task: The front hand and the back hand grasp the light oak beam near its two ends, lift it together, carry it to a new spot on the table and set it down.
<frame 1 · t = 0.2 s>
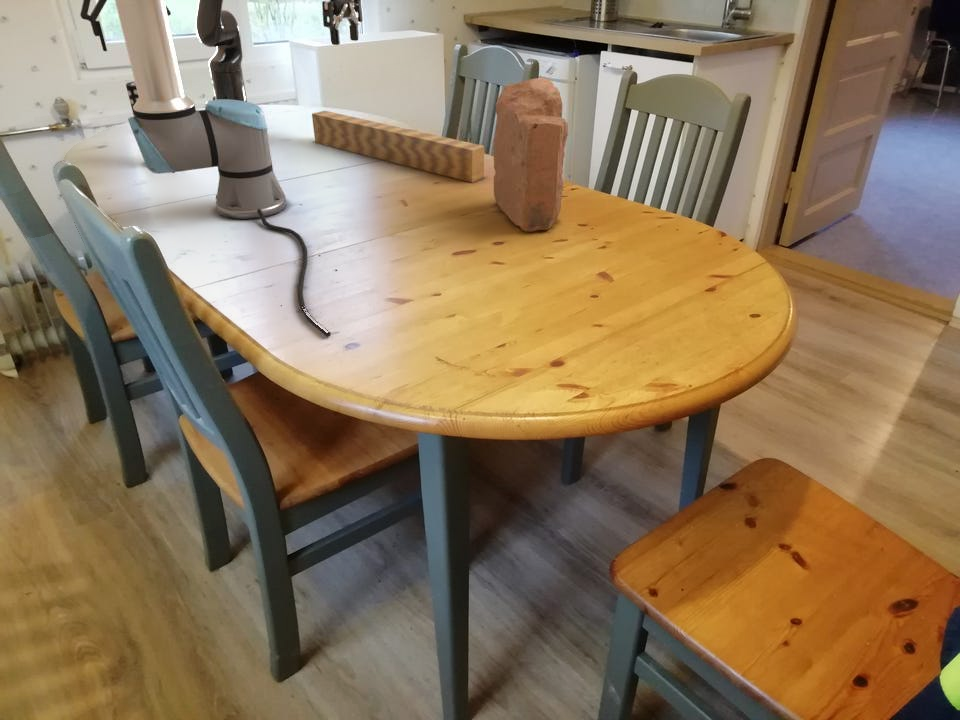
front hand: (134, 48, 174), 28 cm above the table, tool pointing down, fingers open, 13 cm apart
back hand: (345, 42, 186), 28 cm above the table, tool pointing down, fingers open, 8 cm apart
stone: (527, 215, 156), on the table
beam: (393, 158, 192), on the table
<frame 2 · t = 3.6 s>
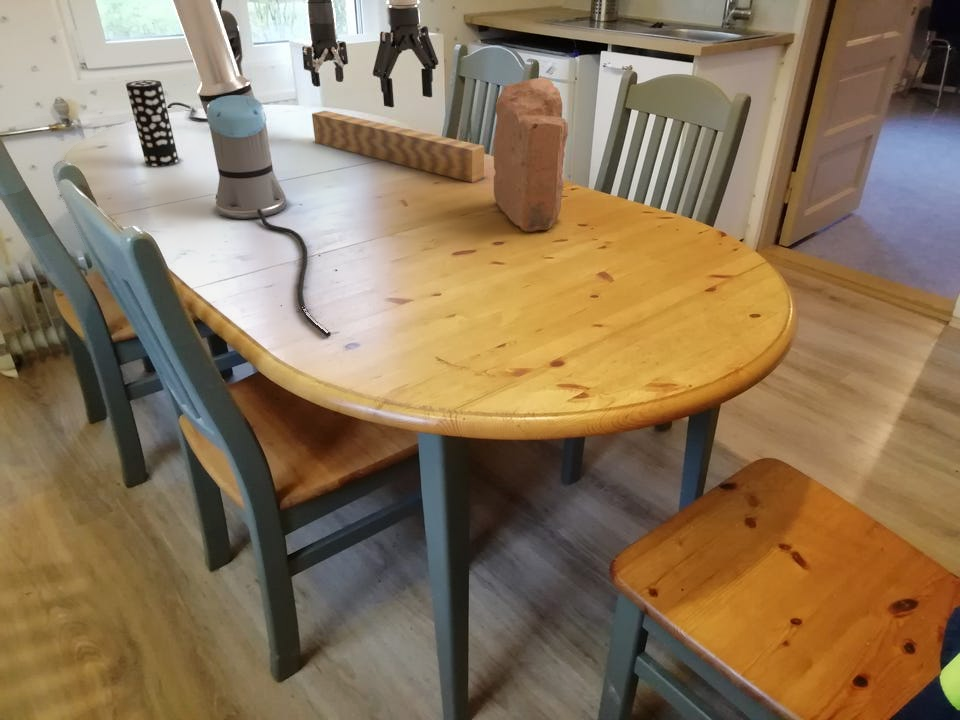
front hand: (408, 101, 172), 18 cm above the table, tool pointing down, fingers open, 13 cm apart
back hand: (328, 83, 195), 17 cm above the table, tool pointing down, fingers open, 8 cm apart
nothing on the table moved.
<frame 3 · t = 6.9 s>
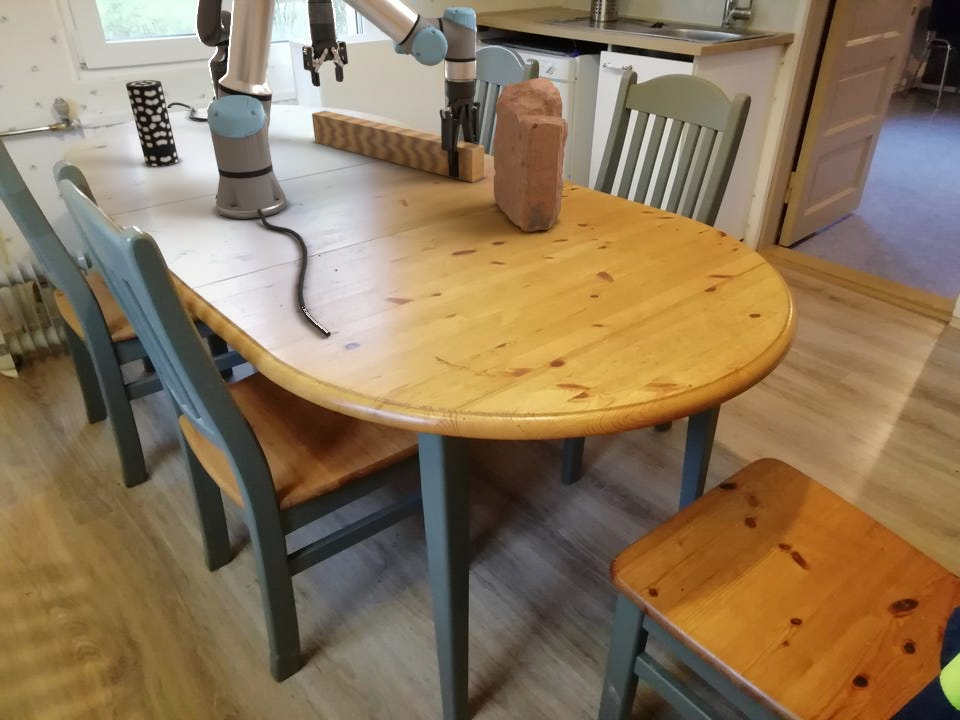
front hand: (460, 173, 179), 1 cm above the table, tool pointing down, fingers closed on beam, 5 cm apart
back hand: (328, 83, 195), 17 cm above the table, tool pointing down, fingers open, 8 cm apart
beam: (393, 158, 192), on the table, touching front hand
everything else where it was.
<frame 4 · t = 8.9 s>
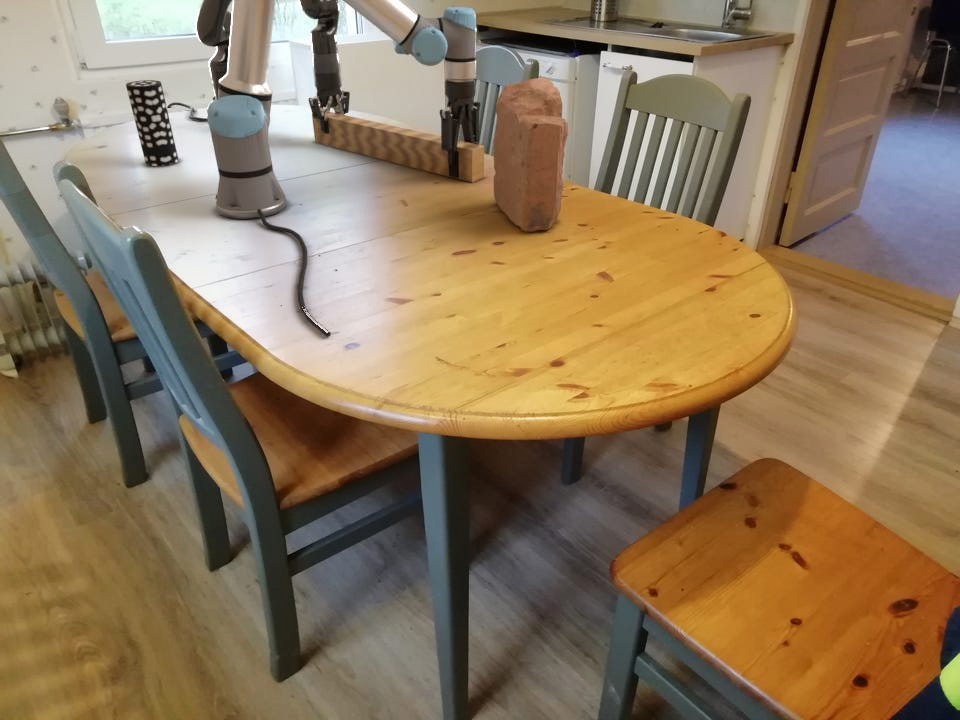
front hand: (460, 173, 179), 1 cm above the table, tool pointing down, fingers closed on beam, 5 cm apart
back hand: (333, 131, 202), 4 cm above the table, tool pointing down, fingers closed on beam, 5 cm apart
beam: (393, 158, 192), on the table, touching front hand, back hand
everything else where it was.
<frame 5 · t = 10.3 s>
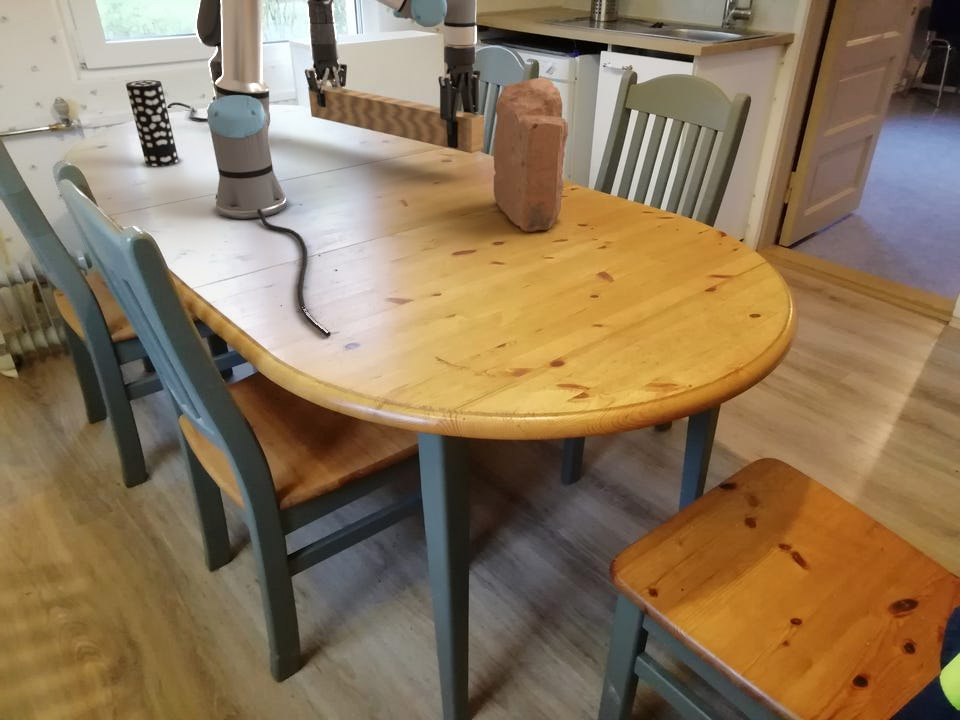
front hand: (459, 144, 175), 8 cm above the table, tool pointing down, fingers closed on beam, 5 cm apart
back hand: (329, 104, 198), 11 cm above the table, tool pointing down, fingers closed on beam, 5 cm apart
beam: (391, 131, 188), point 7 cm above the table, touching front hand, back hand
everything else where it was.
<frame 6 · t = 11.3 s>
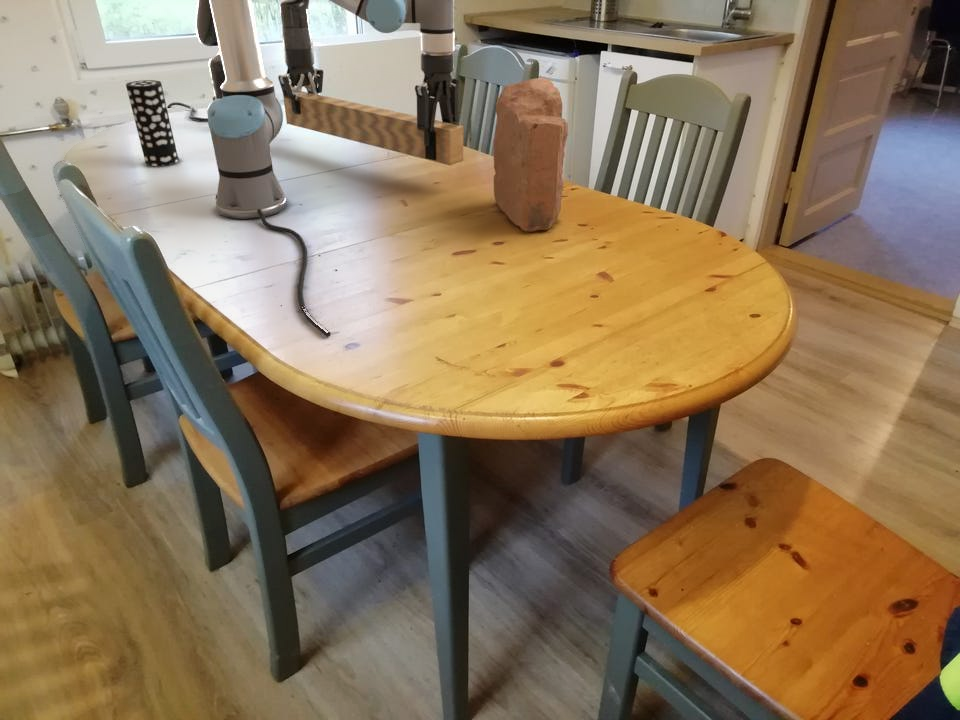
front hand: (438, 156, 167), 8 cm above the table, tool pointing down, fingers closed on beam, 5 cm apart
back hand: (305, 111, 190), 11 cm above the table, tool pointing down, fingers closed on beam, 5 cm apart
beam: (368, 140, 180), point 7 cm above the table, touching front hand, back hand
everything else where it was.
when the front hand's fingers open (2 cm above the table, at t = 13.9 s): beam drops 1 cm, on the table.
when the back hand's fingers open (5 cm above the table, at t = 14.1 s): beam stays where it is, on the table.
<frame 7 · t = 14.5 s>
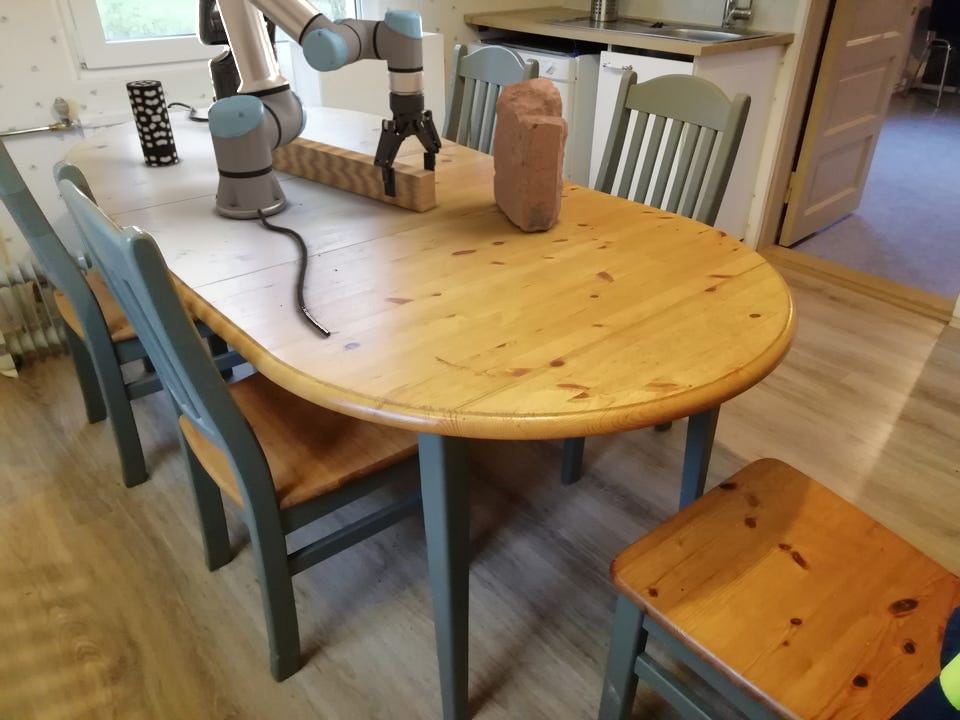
front hand: (410, 188, 159), 4 cm above the table, tool pointing down, fingers open, 13 cm apart
back hand: (275, 144, 182), 6 cm above the table, tool pointing down, fingers open, 8 cm apart
beam: (339, 183, 173), on the table
everything else where it was.
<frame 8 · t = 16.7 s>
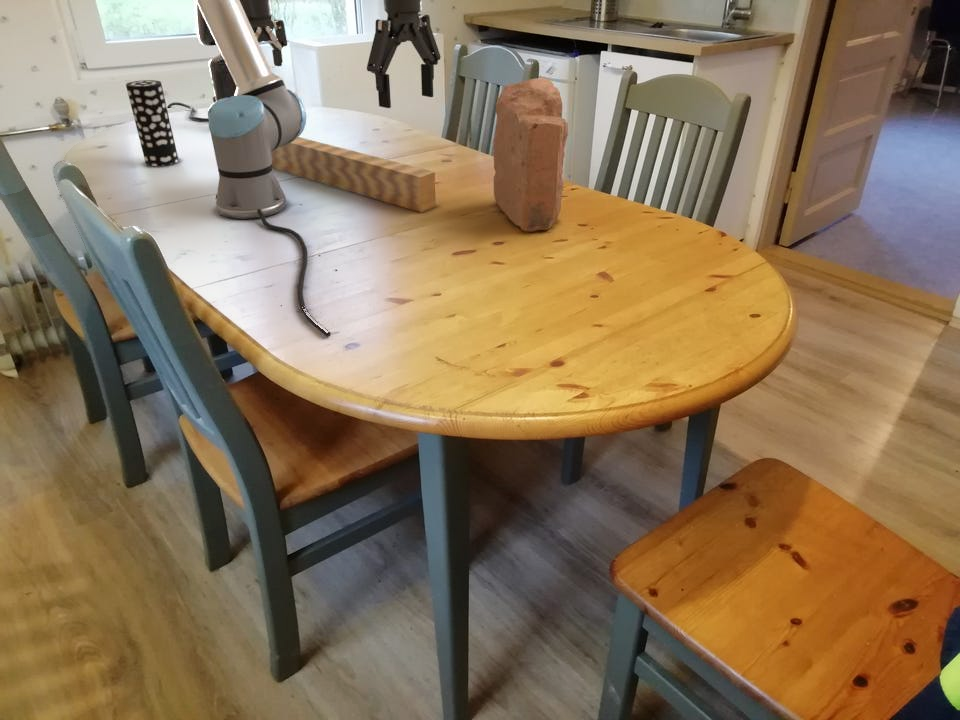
front hand: (406, 101, 149), 23 cm above the table, tool pointing down, fingers open, 13 cm apart
back hand: (264, 68, 172), 24 cm above the table, tool pointing down, fingers open, 8 cm apart
nothing on the table moved.
at the end: beam inside the target area (0.5 cm from its centre), on the table; beam tilted 0°; beam never tilted more than 1° during the clip; both hands held the beam at the same time; the front hand is holding nothing; the back hand is holding nothing; beam at rest at the end (0.0 cm/s) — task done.
